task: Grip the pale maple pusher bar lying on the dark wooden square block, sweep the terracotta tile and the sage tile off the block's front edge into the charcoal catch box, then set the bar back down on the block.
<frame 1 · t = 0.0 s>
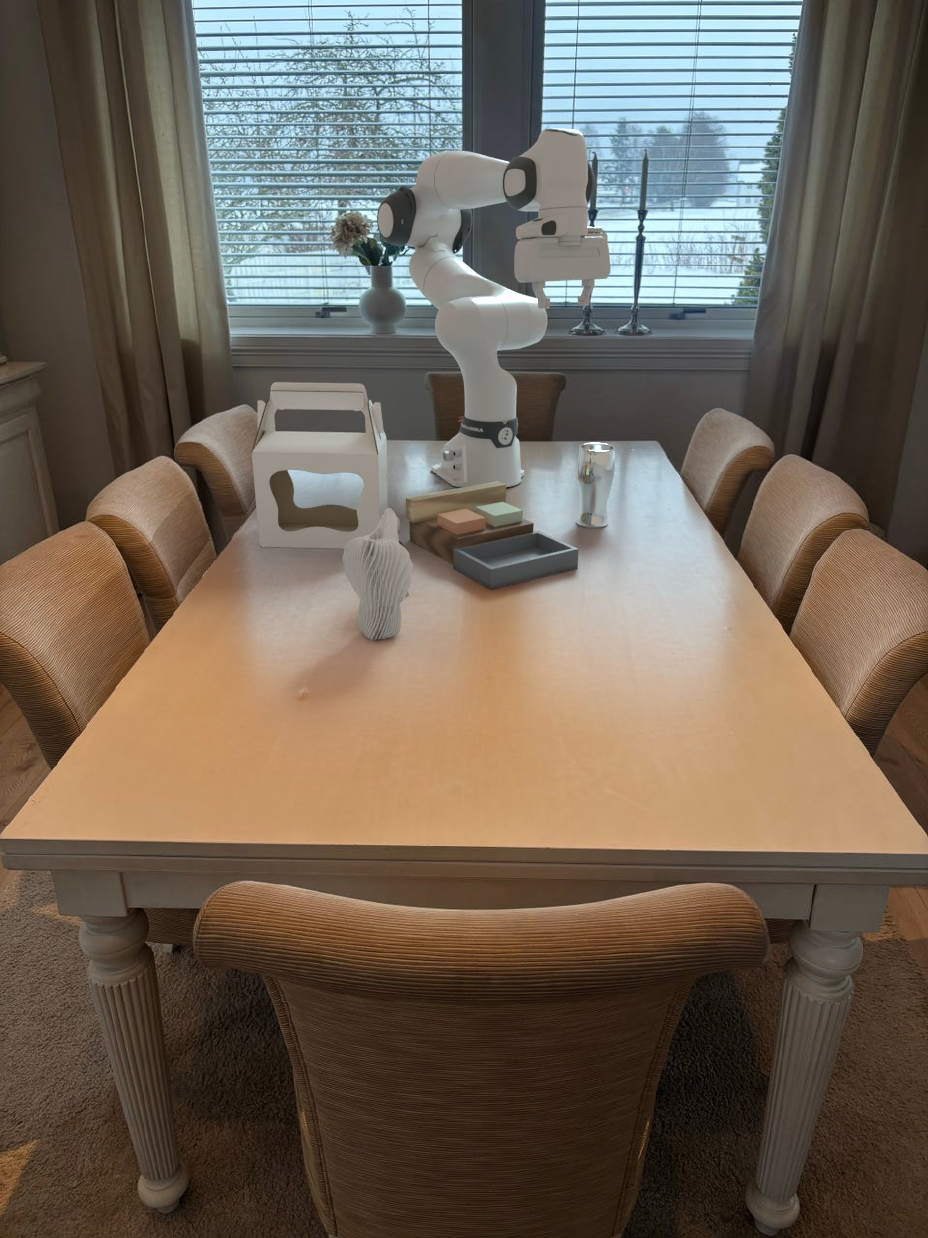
hand: (564, 307, 173), 39 cm above the table, tool pointing down, fingers open, 8 cm apart
sage tile: (498, 519, 166), point 5 cm above the table, touching dark wooden square block
shell sculpture: (381, 636, 133), on the table
pusher bar: (457, 511, 169), point 5 cm above the table, touching dark wooden square block
gable box: (326, 537, 172), on the table
catch box: (515, 568, 158), on the table
beer glass: (591, 524, 180), on the table
grandmother figurine: (391, 593, 147), on the table
dark wooden square block: (470, 544, 168), on the table
terracotta tile: (461, 526, 162), point 5 cm above the table, touching dark wooden square block
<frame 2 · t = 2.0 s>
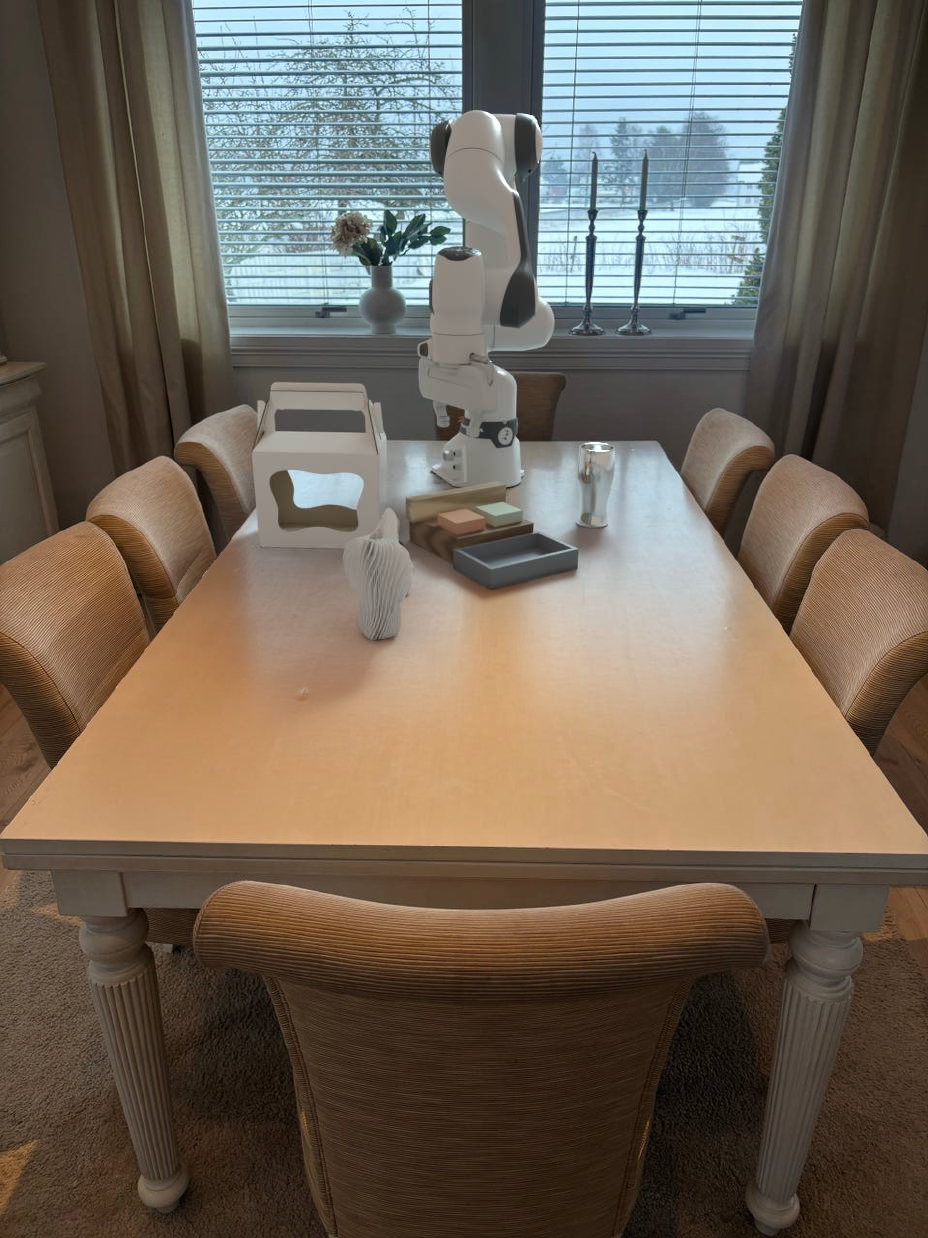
hand: (457, 431, 163), 20 cm above the table, tool pointing down, fingers open, 8 cm apart
nothing on the table moved.
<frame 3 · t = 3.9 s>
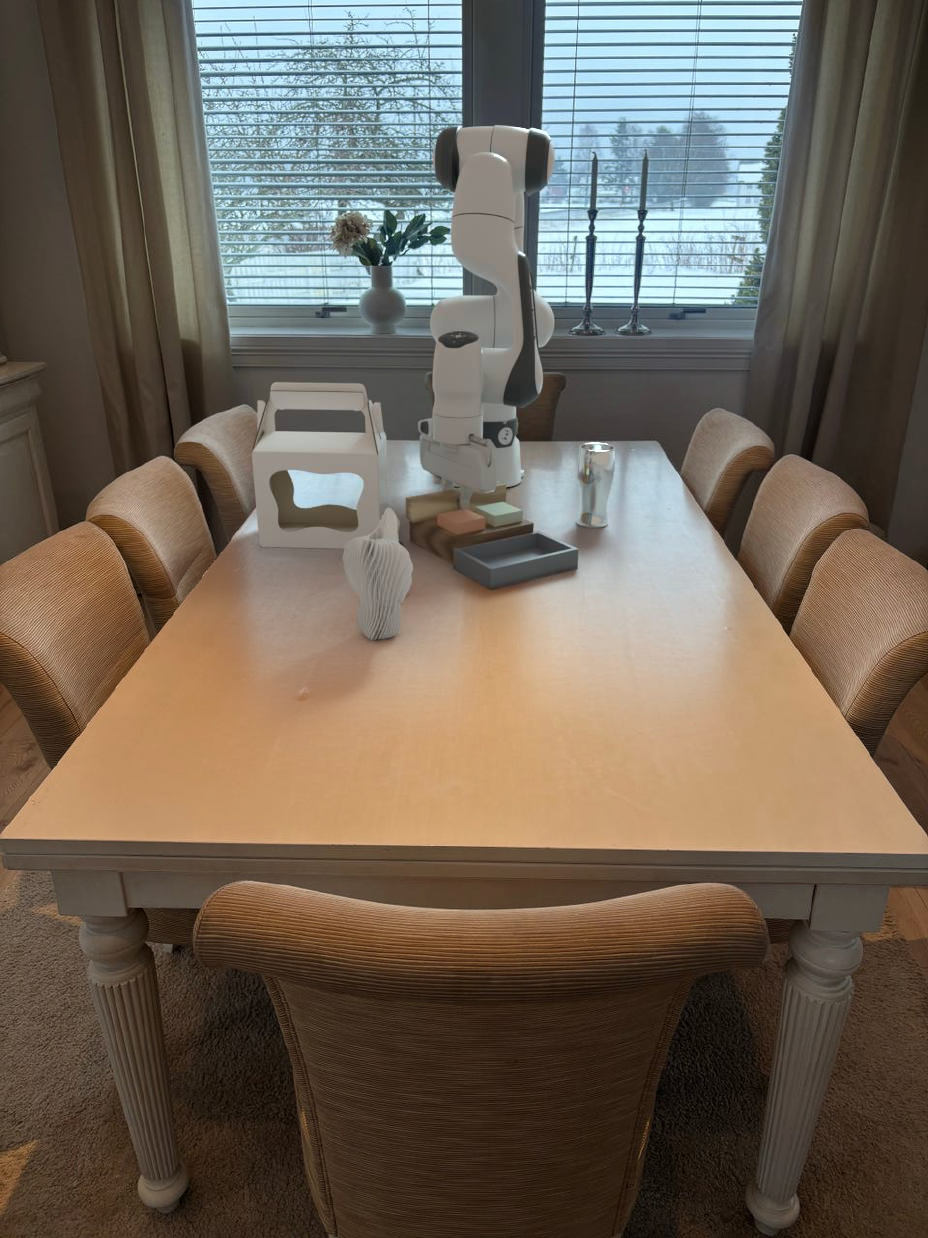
hand: (457, 505, 169), 6 cm above the table, tool pointing down, fingers closed on pusher bar, 2 cm apart
pusher bar: (457, 511, 169), point 5 cm above the table, touching gripper, dark wooden square block
everything else where it was.
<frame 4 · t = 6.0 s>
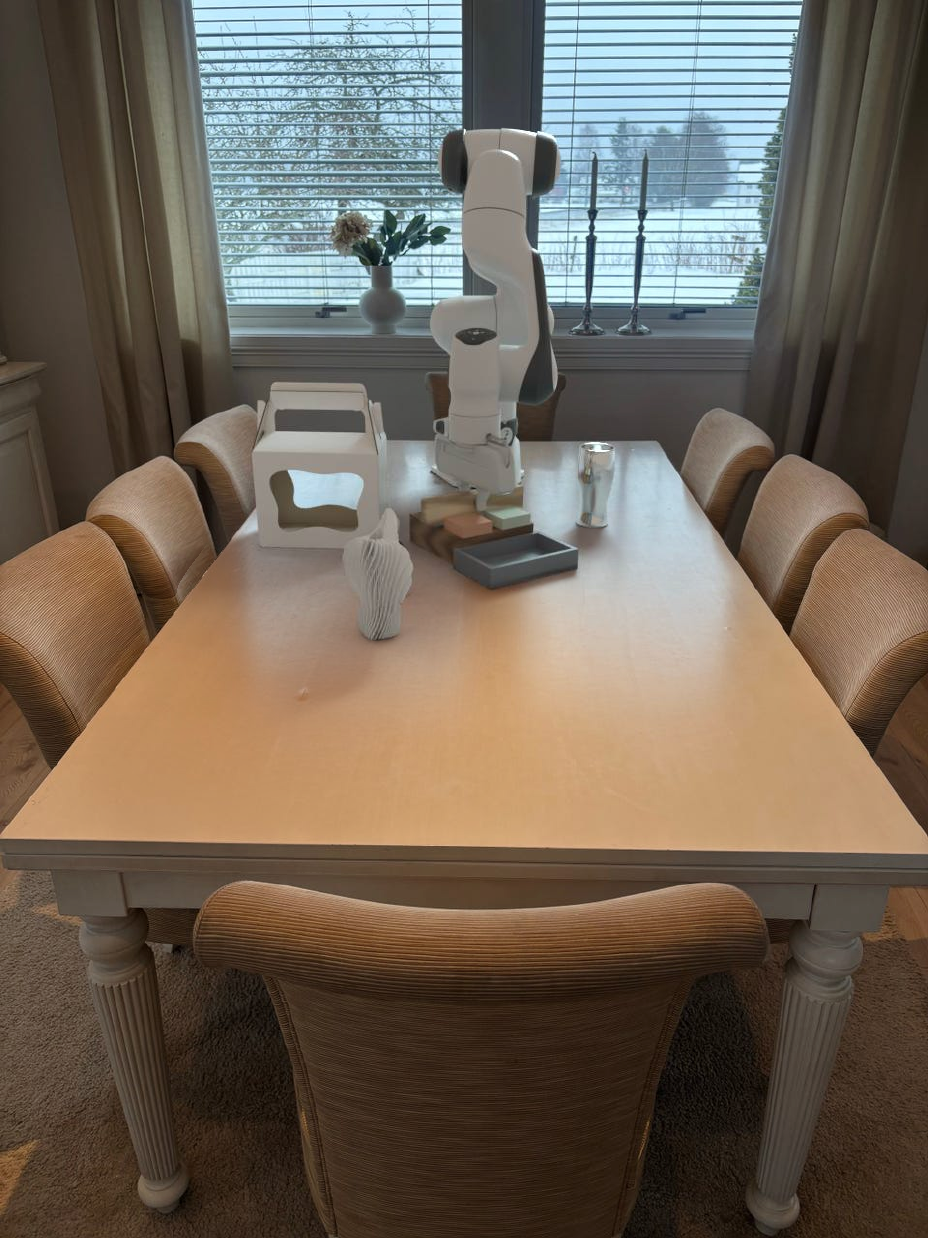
hand: (473, 506, 164), 7 cm above the table, tool pointing down, fingers closed on pusher bar, 2 cm apart
sage tile: (506, 522, 164), point 5 cm above the table, touching pusher bar
pusher bar: (473, 514, 165), point 6 cm above the table, touching gripper, sage tile
terracotta tile: (467, 530, 160), point 5 cm above the table, touching dark wooden square block
everything else where it was.
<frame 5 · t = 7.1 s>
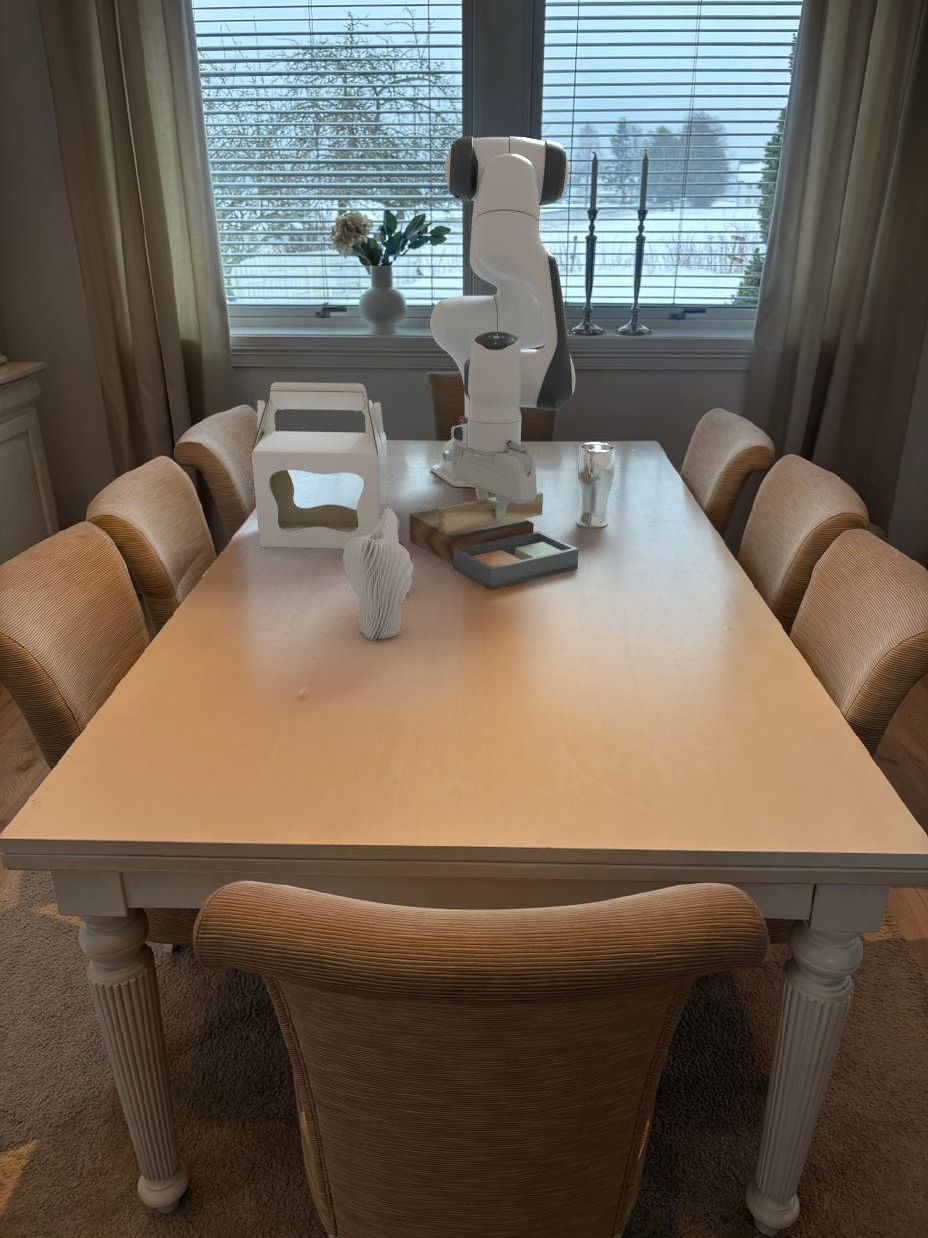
hand: (492, 515, 160), 7 cm above the table, tool pointing down, fingers closed on pusher bar, 2 cm apart
sage tile: (539, 549, 158), point 3 cm above the table, tilted 180°, touching catch box
pusher bar: (491, 522, 160), point 6 cm above the table, touching gripper
terracotta tile: (497, 558, 154), point 3 cm above the table, tilted 180°, touching catch box
everything else where it was.
when the fingers open (7 cm above the table, at t = 9.6 s): pusher bar stays where it is, resting on dark wooden square block.
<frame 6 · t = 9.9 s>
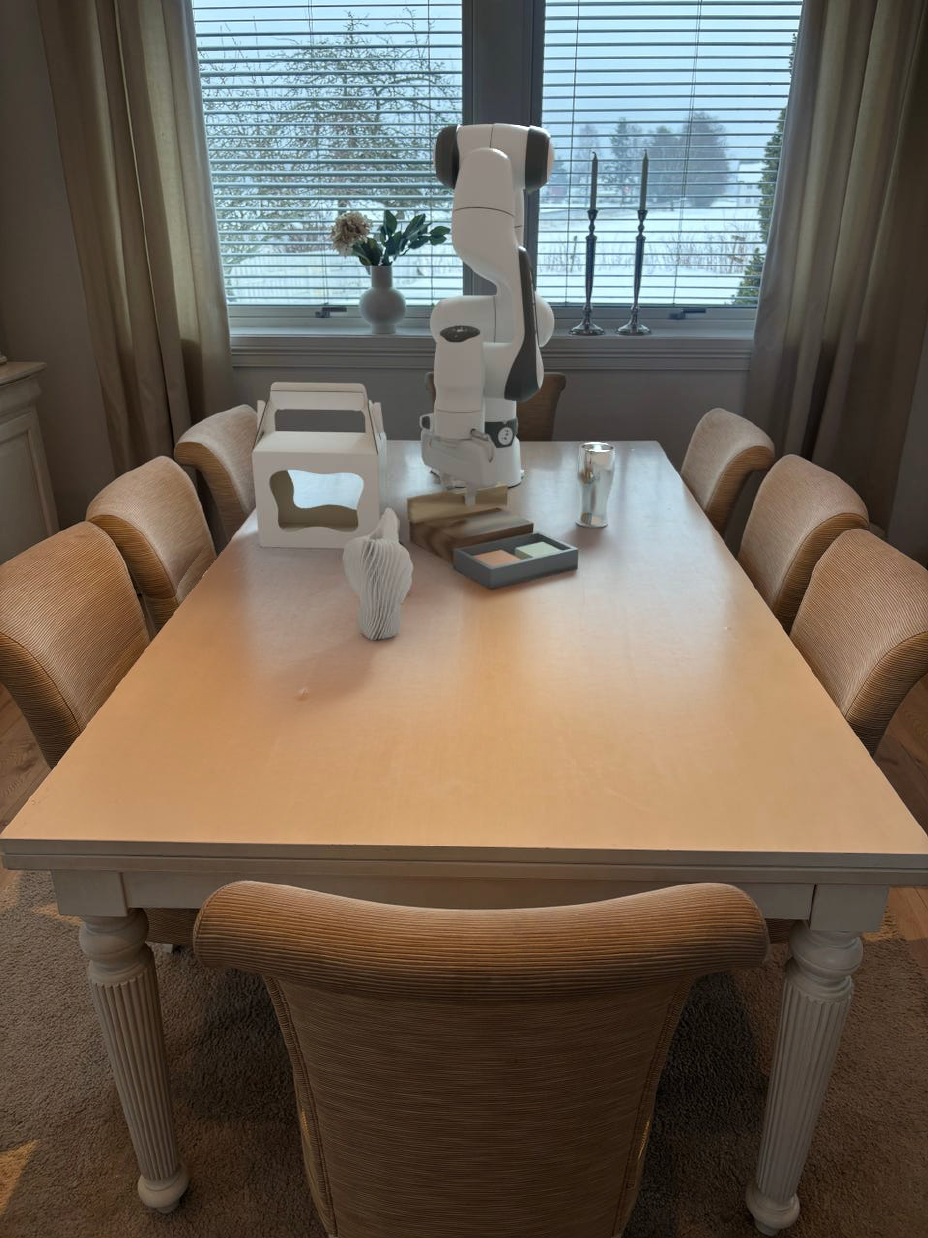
hand: (458, 500, 168), 7 cm above the table, tool pointing down, fingers open, 5 cm apart
pusher bar: (458, 512, 169), point 5 cm above the table, touching dark wooden square block
everything else where it was.
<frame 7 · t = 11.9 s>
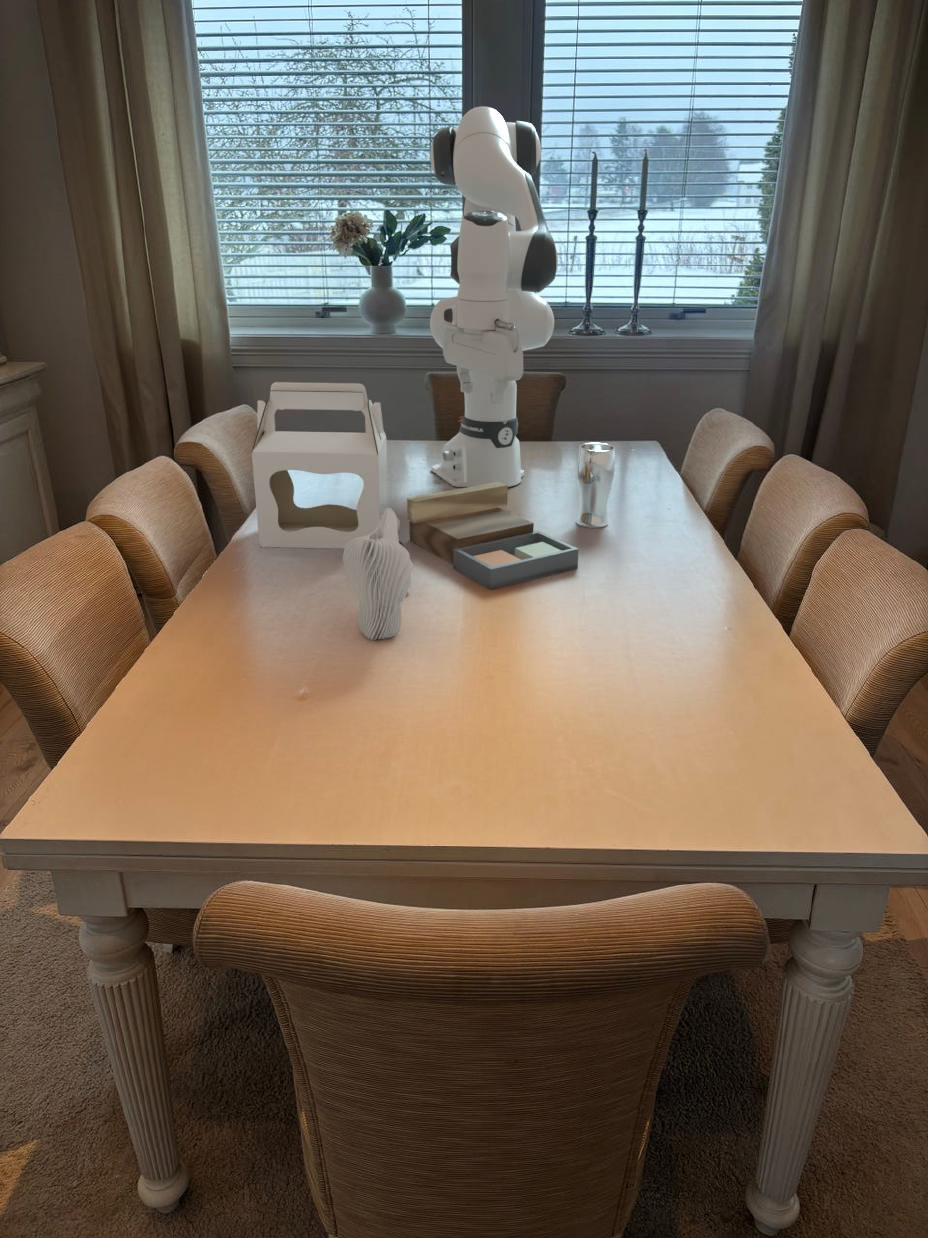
hand: (481, 397, 164), 25 cm above the table, tool pointing down, fingers open, 8 cm apart
nothing on the table moved.
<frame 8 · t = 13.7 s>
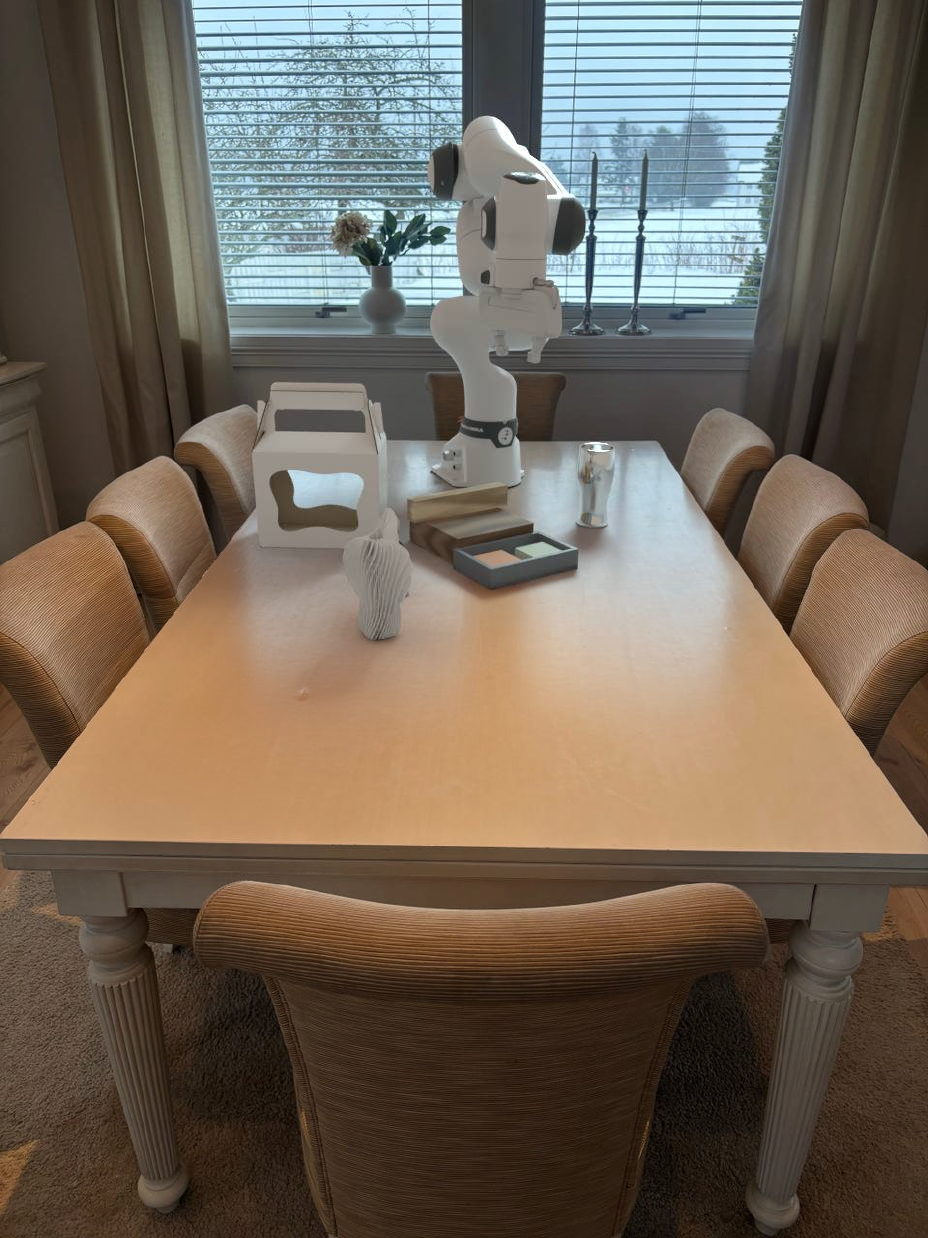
hand: (517, 358, 166), 31 cm above the table, tool pointing down, fingers open, 8 cm apart
nothing on the table moved.
at the end: terracotta tile inside the target area (4.2 cm from its centre), point 2.8 cm above the table; sage tile inside the target area (4.3 cm from its centre), point 2.8 cm above the table; pusher bar inside the target area (2.1 cm from its centre), point 5.0 cm above the table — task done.
